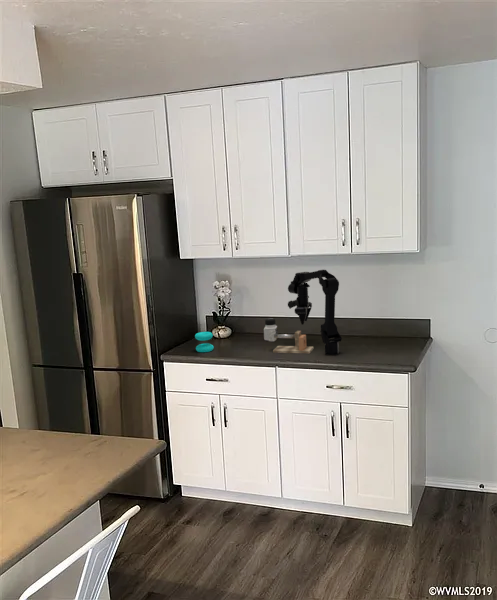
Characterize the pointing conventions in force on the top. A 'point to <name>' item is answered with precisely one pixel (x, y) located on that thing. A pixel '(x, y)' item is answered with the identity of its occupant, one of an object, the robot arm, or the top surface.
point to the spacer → (302, 342)
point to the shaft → (279, 335)
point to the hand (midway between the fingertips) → (304, 322)
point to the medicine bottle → (269, 327)
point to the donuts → (202, 337)
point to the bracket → (293, 347)
